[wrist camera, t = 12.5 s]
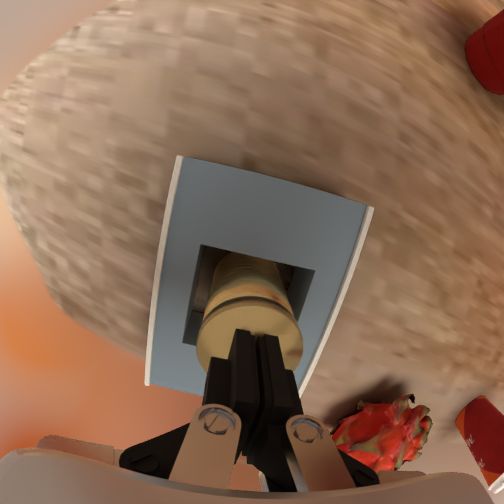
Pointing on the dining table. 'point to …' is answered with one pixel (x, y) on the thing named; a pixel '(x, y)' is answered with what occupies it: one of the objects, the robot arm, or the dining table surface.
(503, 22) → the plastic cup
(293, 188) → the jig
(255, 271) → the brass flanged cylinder
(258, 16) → the dining table surface
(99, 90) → the dining table surface
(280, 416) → the robot arm
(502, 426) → the paper cup
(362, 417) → the dragon fruit
